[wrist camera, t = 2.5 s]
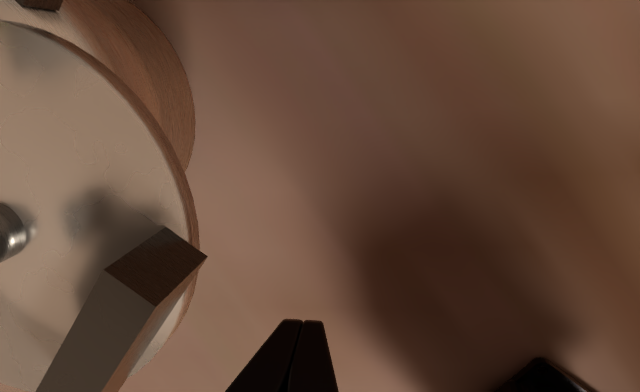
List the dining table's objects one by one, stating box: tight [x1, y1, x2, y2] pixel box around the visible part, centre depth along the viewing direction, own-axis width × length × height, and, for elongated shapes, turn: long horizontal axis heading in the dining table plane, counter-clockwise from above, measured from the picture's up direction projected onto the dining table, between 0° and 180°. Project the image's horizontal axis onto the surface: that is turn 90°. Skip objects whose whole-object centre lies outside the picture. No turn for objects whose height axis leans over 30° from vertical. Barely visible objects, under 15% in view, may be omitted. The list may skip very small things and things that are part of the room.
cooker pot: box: [0, 0, 195, 172], centre depth 20 cm, size 13×18×9 cm
